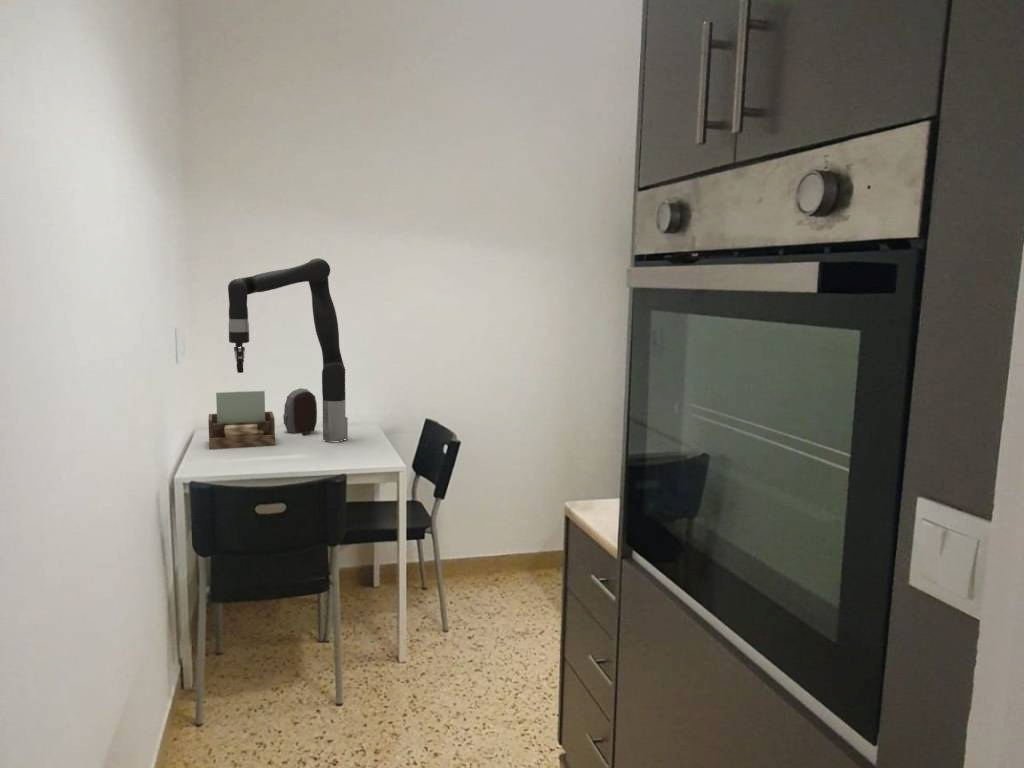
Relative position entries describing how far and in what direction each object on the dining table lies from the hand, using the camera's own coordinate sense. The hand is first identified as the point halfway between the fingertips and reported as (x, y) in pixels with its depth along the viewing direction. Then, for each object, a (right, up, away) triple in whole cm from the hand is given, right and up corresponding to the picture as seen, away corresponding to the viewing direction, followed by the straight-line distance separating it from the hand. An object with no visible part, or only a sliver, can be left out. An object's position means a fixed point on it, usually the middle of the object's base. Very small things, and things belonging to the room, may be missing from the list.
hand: (240, 371), depth 288 cm
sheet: (-1, -28, +4) cm, 28 cm away
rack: (+1, -30, +1) cm, 30 cm away
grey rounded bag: (+16, -27, +27) cm, 41 cm away
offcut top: (+1, -24, -2) cm, 24 cm away
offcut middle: (+2, -26, -2) cm, 27 cm away
